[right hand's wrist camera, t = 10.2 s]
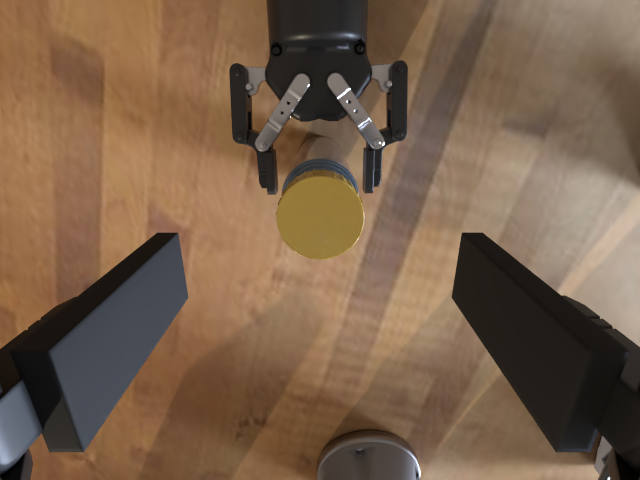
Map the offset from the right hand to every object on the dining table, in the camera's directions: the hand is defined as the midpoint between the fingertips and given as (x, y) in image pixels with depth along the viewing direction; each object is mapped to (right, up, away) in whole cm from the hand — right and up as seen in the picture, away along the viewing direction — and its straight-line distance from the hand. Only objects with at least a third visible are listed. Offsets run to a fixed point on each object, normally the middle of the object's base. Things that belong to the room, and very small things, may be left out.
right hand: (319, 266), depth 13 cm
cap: (0, +2, +6) cm, 6 cm away
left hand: (0, +5, +18) cm, 19 cm away
